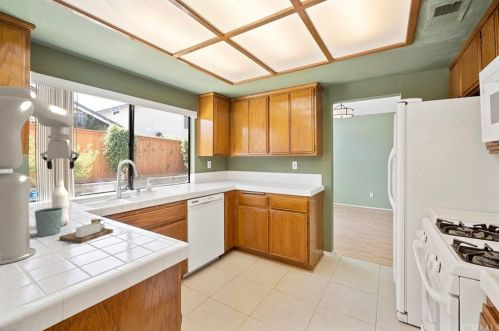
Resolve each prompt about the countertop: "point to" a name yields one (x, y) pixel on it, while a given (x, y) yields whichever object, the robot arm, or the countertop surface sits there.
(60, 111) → the robot arm
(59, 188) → the water bottle
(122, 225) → the countertop surface
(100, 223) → the latch bar
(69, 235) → the lock base
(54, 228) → the green plant pot
